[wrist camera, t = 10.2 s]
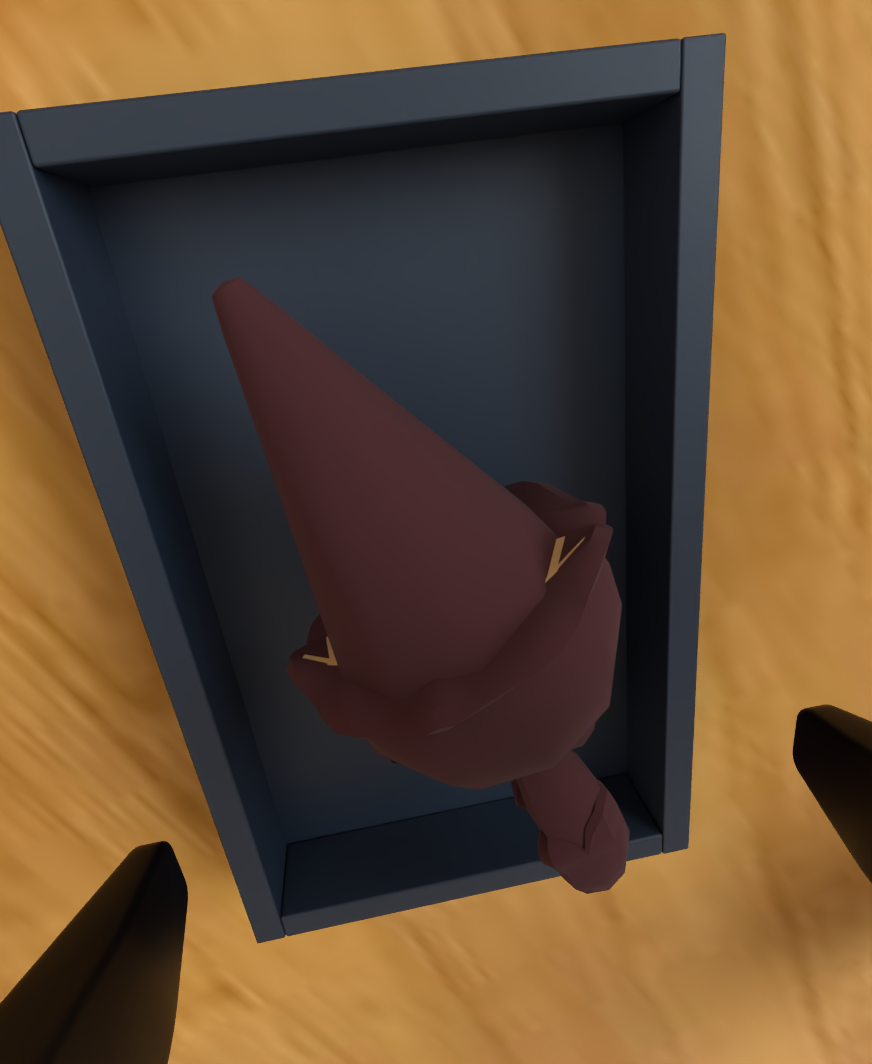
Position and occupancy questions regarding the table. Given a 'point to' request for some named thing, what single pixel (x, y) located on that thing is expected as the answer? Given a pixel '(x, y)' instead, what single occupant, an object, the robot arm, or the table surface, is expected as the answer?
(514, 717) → the icecream
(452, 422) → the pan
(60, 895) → the table surface
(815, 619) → the table surface
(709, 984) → the table surface
